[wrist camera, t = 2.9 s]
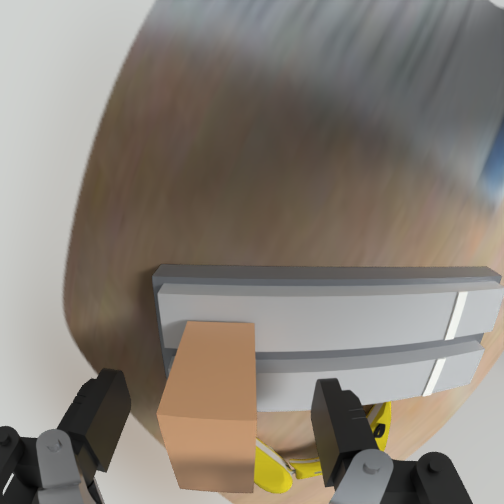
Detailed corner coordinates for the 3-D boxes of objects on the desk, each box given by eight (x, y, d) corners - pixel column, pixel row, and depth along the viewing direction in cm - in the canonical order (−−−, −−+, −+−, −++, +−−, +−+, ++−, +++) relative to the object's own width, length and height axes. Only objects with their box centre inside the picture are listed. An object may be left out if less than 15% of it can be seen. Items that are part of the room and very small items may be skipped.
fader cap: (199, 385, 14) (179, 488, 8) (192, 307, 13) (156, 414, 7) (252, 386, 14) (253, 493, 8) (254, 309, 13) (256, 420, 7)
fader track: (175, 379, 16) (166, 411, 14) (161, 264, 14) (144, 286, 11) (455, 364, 16) (473, 386, 14) (486, 266, 14) (513, 283, 12)
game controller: (248, 476, 18) (245, 504, 15) (233, 407, 19) (226, 431, 15) (379, 453, 18) (393, 476, 14) (377, 381, 18) (395, 400, 15)
